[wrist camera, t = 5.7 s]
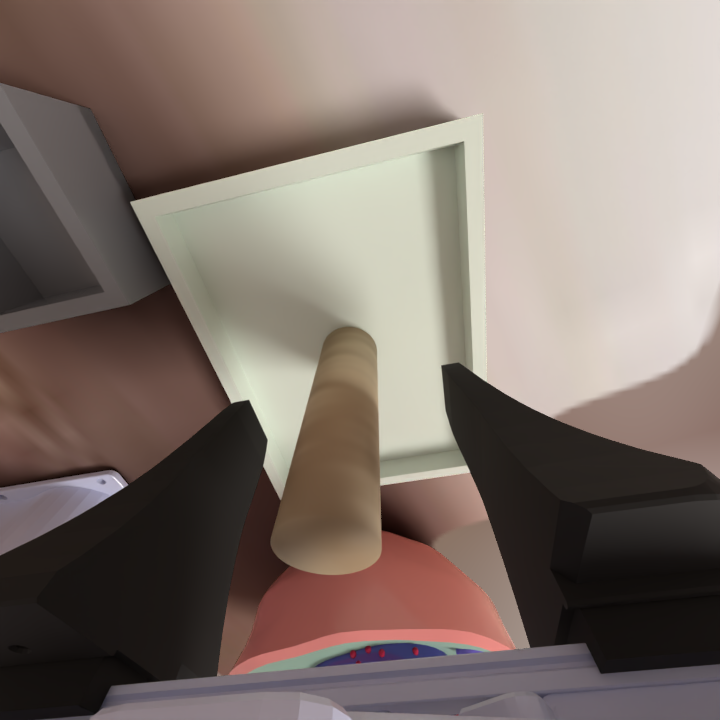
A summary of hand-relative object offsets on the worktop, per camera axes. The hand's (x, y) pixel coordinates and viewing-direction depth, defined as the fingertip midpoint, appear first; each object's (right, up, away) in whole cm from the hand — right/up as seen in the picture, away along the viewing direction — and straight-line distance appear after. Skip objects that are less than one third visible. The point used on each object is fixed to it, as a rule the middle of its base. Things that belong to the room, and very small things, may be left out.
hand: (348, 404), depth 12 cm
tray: (0, +2, +4) cm, 5 cm away
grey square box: (-11, +7, +1) cm, 14 cm away
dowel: (0, +2, +3) cm, 4 cm away
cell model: (+1, -14, +14) cm, 20 cm away
